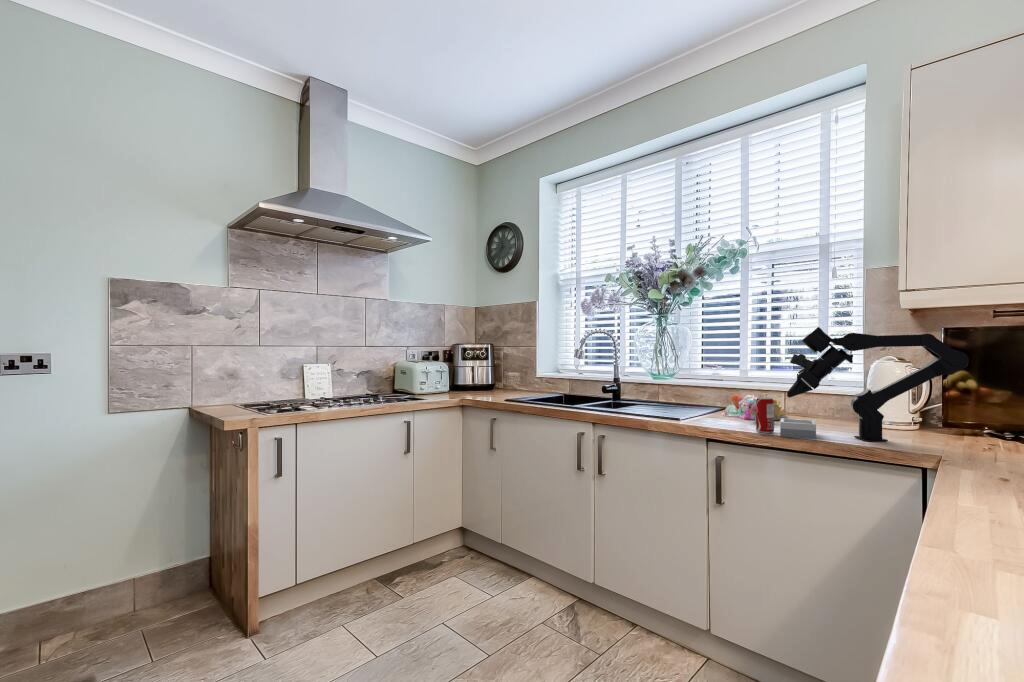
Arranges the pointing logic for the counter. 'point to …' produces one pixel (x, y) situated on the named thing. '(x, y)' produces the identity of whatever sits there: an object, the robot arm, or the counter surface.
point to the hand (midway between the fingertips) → (787, 395)
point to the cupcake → (753, 409)
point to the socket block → (798, 428)
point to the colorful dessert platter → (745, 405)
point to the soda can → (765, 414)
